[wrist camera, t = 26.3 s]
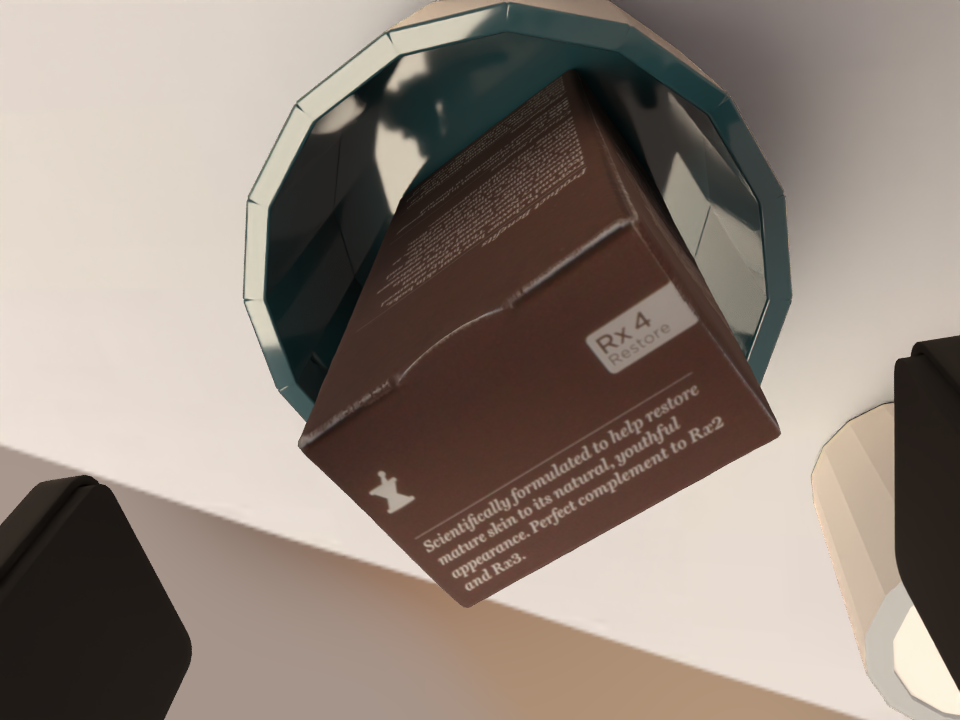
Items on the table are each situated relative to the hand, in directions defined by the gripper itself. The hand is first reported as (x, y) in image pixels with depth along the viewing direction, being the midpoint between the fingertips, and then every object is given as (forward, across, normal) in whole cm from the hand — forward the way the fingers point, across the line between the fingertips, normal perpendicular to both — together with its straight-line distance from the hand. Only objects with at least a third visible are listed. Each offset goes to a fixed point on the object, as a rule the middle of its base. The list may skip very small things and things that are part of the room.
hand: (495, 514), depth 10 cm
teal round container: (+15, 0, +1) cm, 15 cm away
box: (+14, 0, +1) cm, 14 cm away
